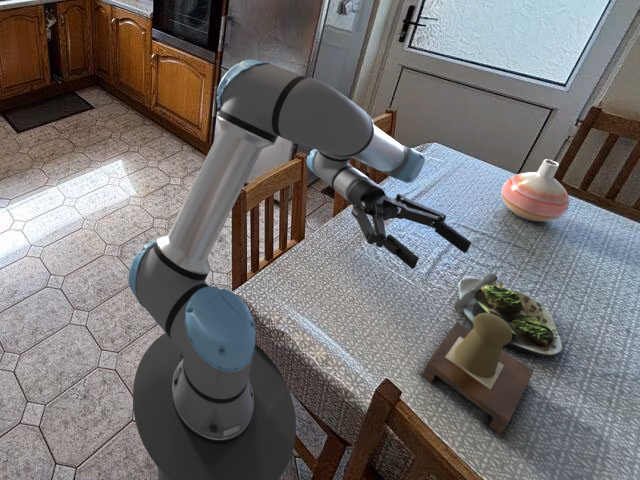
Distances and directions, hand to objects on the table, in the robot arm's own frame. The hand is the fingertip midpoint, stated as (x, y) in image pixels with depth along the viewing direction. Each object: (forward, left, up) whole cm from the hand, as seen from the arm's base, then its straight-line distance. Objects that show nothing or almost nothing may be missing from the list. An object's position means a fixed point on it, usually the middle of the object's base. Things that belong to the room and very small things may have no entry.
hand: (442, 255), depth 81 cm
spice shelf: (+12, -5, -19) cm, 23 cm away
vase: (+4, +61, -19) cm, 64 cm away
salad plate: (+11, +15, -19) cm, 27 cm away
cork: (+11, -5, -15) cm, 19 cm away
